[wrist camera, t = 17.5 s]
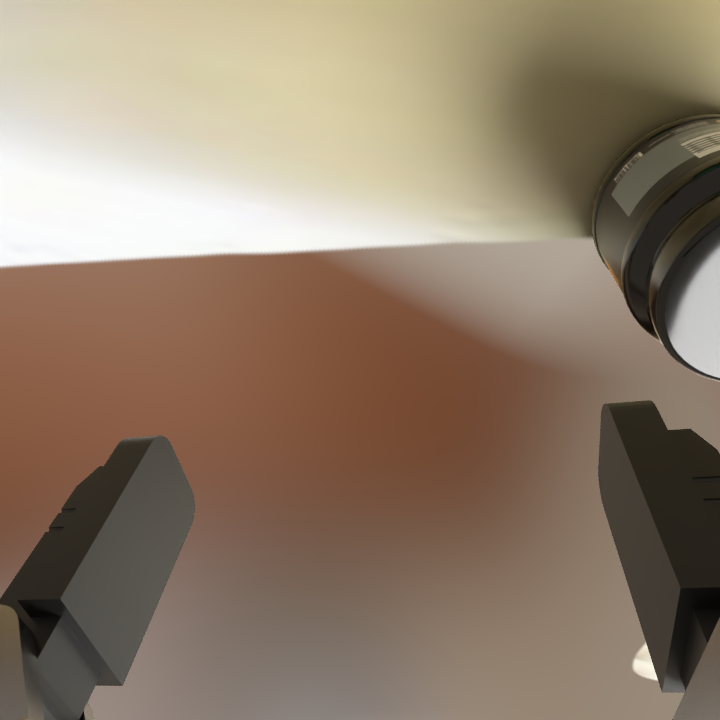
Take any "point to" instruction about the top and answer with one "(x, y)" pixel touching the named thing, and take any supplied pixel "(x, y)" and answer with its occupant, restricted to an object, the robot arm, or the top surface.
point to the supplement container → (668, 237)
